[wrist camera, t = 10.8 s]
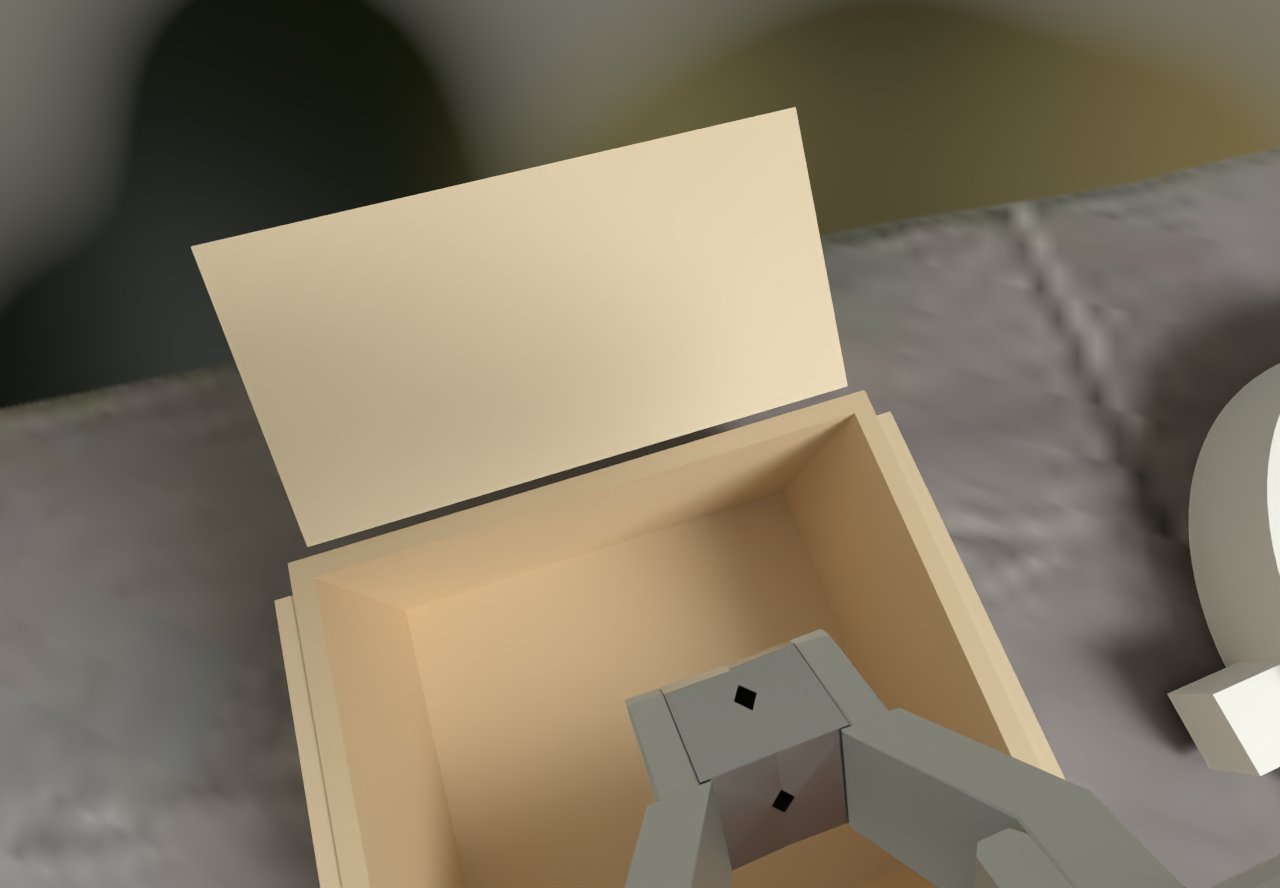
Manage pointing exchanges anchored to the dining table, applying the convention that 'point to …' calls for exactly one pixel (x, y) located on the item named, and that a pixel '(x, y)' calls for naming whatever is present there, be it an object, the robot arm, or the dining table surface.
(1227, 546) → the ring with crossbar
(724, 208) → the carton flap
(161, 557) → the dining table surface
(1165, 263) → the dining table surface
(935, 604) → the carton
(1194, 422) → the dining table surface
